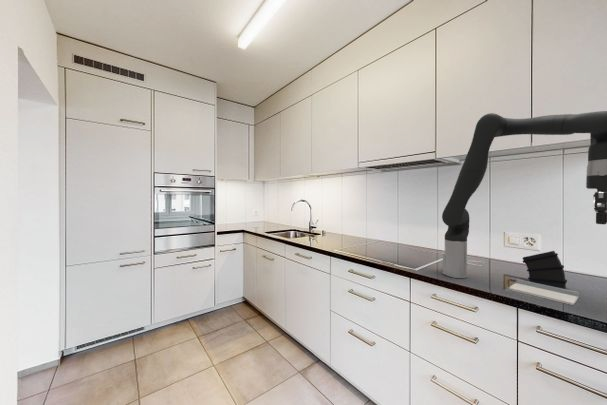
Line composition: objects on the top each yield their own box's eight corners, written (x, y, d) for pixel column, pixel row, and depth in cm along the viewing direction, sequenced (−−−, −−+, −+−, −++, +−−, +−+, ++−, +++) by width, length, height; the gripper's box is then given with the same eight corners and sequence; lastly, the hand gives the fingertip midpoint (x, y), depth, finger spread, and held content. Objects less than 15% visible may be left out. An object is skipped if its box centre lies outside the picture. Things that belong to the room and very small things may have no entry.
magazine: (576, 288, 96) (553, 251, 101) (535, 293, 106) (516, 259, 111) (577, 286, 98) (555, 250, 103) (537, 291, 108) (518, 258, 113)
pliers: (482, 264, 132) (450, 259, 143) (482, 267, 132) (450, 262, 143) (485, 260, 139) (455, 256, 150) (485, 263, 139) (455, 258, 150)
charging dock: (508, 289, 100) (508, 284, 100) (516, 284, 106) (516, 278, 106) (573, 305, 86) (573, 298, 86) (578, 298, 92) (578, 292, 92)
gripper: (589, 175, 88) (588, 220, 89) (583, 174, 80) (582, 223, 80) (623, 174, 82) (622, 222, 83) (621, 172, 74) (619, 226, 74)
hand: (602, 223), depth 81 cm, fingers open, 8 cm apart
